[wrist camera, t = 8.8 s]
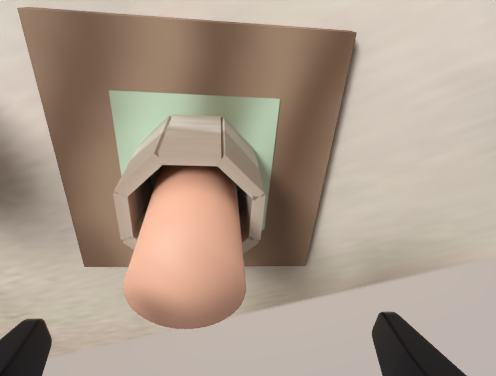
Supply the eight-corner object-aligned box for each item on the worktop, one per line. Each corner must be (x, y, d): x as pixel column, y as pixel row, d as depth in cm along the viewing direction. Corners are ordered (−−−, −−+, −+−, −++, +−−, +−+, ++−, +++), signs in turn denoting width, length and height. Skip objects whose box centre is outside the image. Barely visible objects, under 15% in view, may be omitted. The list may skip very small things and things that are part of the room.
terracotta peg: (234, 137, 18) (245, 243, 11) (235, 200, 21) (246, 324, 13) (156, 139, 18) (110, 250, 10) (166, 203, 20) (135, 332, 13)
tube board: (349, 30, 17) (406, 46, 12) (302, 256, 25) (323, 323, 20) (28, 7, 15) (-67, 13, 10) (89, 256, 24) (53, 329, 18)
